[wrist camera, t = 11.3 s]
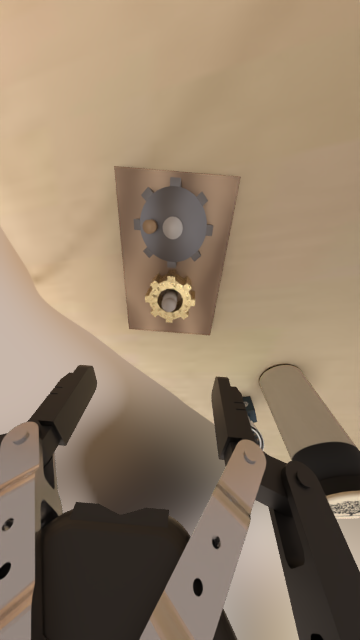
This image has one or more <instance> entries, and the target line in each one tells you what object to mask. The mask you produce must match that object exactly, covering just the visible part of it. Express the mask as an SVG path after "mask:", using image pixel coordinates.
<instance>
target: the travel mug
mask: <svg viewBox="0 0 360 640" xmlns="http://www.w3.org/2000/svg"><path fill="white" fill-rule="evenodd" d="M259 384H260V387H261V389H262V392H263V394H264V396H265V399H266V401H267V403H268V406H269V408H270V411H271V413H272V415H273V418H274V420H275V422H276V425H277V427H278V429H279V432H280V434H281V436H282V439H283V441H284V443H285V446H286V448H287V451H288V453H289V455H290V458H291V460H292V461H299V462H301V463H303V464H305V465H306V466H307V467H309V468H310V469H311V470H312V471H313V472H314V474H315V475H316V477H317V478H318V480H319V482H320V484H321V486H322V489H323V491H324V493H325V495H326V498H327V500H328V502H329V504H330V507H331V509H332V511H333V513H334V516H335V518H342V519H346V518H347V519H349V518H360V451H359V450H358V448H357V447H356V446H355V444H354V443H353V442H352V440H351V439H350V437H349V436H348V435H347V433H346V432H345V431H344V429H343V428H342V426H341V425H340V424H339V422H338V421H337V420H336V418H335V417H334V416H333V414H332V413H331V411H330V410H329V409H328V407H327V406H326V405H325V403H324V402H323V400H322V399H321V398H320V396H319V395H318V394H317V392H316V391H315V390H314V388H313V387H312V385H311V384H310V383H309V381H308V380H307V379H306V377H305V376H304V374H303V373H302V372H301V370H300V369H299V368H297V367H295V366H291V365H280V366H276V367H273V368H271V369H269V370H267V371H266V372H265V373H264V374H263V375H262V376H261V378H260V380H259Z"/></svg>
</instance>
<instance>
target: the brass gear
mask: <svg viewBox="0 0 360 640" xmlns="http://www.w3.org/2000/svg"><path fill="white" fill-rule="evenodd" d="M150 286H151V287H152V288H151V287H149V289H148V291H147V293H146V295H145V302H147V303H150V306H151V307H152V309H151V312H150V313H151V314H152V315H153V316H154V317H156V316H157V315H159V316H161V317H162V318H164V319H166V322H170V323H172V322H173V319H177V318H179V317H181V318H182V319H183V320H184V319H185V318H187V317H188V316H189V309H190V306H195V291H191V289H192V282H191V279H190V278H189V277H188V276H186V277H185V278H183V277H181V276H180V275H178V274H176V270H169V273H168V274H166V275H164V276H161V275H160V274H159V273H158V274H157V275H156V276H155V277H154V278H153V280H152V282H151V284H150ZM166 289H174V290H176V291H177V292H179V293H180V294H181V296H182V298H181V299H180V301H177V304H176V308H175V309H174V310H173V311H172V312H166V311H165V310H163V308H162V305H161V304H162V300H163V298H162V296H161V291H164V290H166Z"/></svg>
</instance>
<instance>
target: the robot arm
mask: <svg viewBox="0 0 360 640" xmlns="http://www.w3.org/2000/svg"><path fill="white" fill-rule="evenodd" d="M96 387H97V380H96V376H95V372H94V368H93V366H87V365H79V366H78V367H77V368H76V370H75V371H74V372H73V373H68V374H67V375H66V376H64V377H63V378H62V379H61V380H60V381H59V382H58V384H57V385H56V386H55V388H54V389H53V390H52V391H51V392H50V394H49V395H48V396H47V398H46V399H45V400H44V401H43V403H42V404H41V405H40V406H39V408H38V409H37V410H36V412H35V413H34V414H33V415H32V417H31V418H30V419H29V420H28V421H27V422H25V423H22V424H20V425H18V426H16V427H14V428H13V429H12V430H11V431H9V432H8V433H7V434H3V435H0V640H237V638H236V636H235V633H234V631H233V629H232V626H231V624H230V622H229V620H228V618H227V616H226V613H225V611H224V609H223V606H224V603H225V600H226V597H227V593H228V590H229V587H230V584H231V581H232V578H233V575H234V572H235V568H236V566H237V562H238V559H239V556H240V553H241V550H242V547H243V544H244V541H245V537H246V534H247V531H248V528H249V524H250V519H251V518H250V514H251V510H252V507H253V504H254V501H255V500H257V501H259V502H261V503H263V504H264V505H266V506H268V507H269V511H270V515H271V520H272V524H273V528H274V533H275V537H276V541H277V546H278V550H279V554H280V559H281V563H282V567H283V572H284V576H285V580H286V585H287V589H288V593H289V597H290V602H291V606H292V610H293V615H294V619H295V623H296V627H297V631H298V636H299V640H360V572H359V570H358V567H357V565H356V563H355V561H354V558H353V556H352V554H351V552H350V549H349V547H348V545H347V542H346V540H345V538H344V536H343V533H342V531H341V529H340V527H339V524H338V522H337V520H336V518H335V516H334V513H333V511H332V509H331V507H330V504H329V502H328V500H327V498H326V495H325V493H324V491H323V489H322V486H321V484H320V482H319V480H318V478H317V477H316V475H315V474H314V472H313V471H312V470H311V469H310V468H309V467H307V466H306V465H305V464H303V463H301V462H299V461H290V462H289V463H288V464H287V463H284V462H282V461H280V460H278V459H275V458H273V457H271V456H269V455H268V454H266V453H265V452H264V451H263V450H262V449H261V448H260V447H259V446H258V444H257V443H256V441H255V438H254V435H253V432H252V428H251V425H250V421H249V418H248V415H247V411H246V408H245V405H244V401H243V398H242V394H241V393H240V392H239V390H238V389H237V387H231V386H230V383H229V379H228V378H227V377H216V378H215V382H214V386H213V390H212V408H213V416H214V424H215V432H216V440H217V448H218V456H219V459H222V460H225V467H226V468H225V470H224V472H223V474H222V476H221V478H220V480H219V482H218V484H217V485H216V487H215V489H214V491H213V493H212V495H211V497H210V499H209V501H208V504H207V505H206V508H205V509H204V511H203V513H202V515H201V518H200V519H199V522H198V523H197V525H196V528H195V530H194V531H193V533H192V535H191V537H190V535H189V534H188V532H187V531H186V530H185V528H184V527H183V526H182V525H181V524H180V523H179V522H178V521H176V520H175V519H174V518H172V517H170V516H169V510H165V509H153V508H144V509H141V510H137V511H134V512H130V513H127V514H123V515H119V514H117V513H115V512H113V511H111V510H109V509H107V508H106V507H104V506H102V505H100V504H93V503H81V502H76V504H75V506H74V509H72V510H70V511H67V512H65V513H63V510H62V504H61V500H60V496H59V493H58V485H57V474H56V462H55V453H54V452H55V450H56V448H57V446H58V445H64V446H66V445H67V443H68V441H69V439H70V437H71V435H72V433H73V431H74V429H75V428H76V426H77V424H78V422H79V420H80V418H81V416H82V415H83V413H84V411H85V409H86V407H87V405H88V403H89V402H90V400H91V398H92V396H93V394H94V392H95V390H96Z"/></svg>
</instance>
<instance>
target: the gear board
mask: <svg viewBox="0 0 360 640" xmlns="http://www.w3.org/2000/svg"><path fill="white" fill-rule="evenodd" d="M114 169H115V180H116V191H117V202H118V213H119V224H120V235H121V246H122V257H123V268H124V279H125V290H126V301H127V312H128V323H129V329H138V330H150V331H163V332H175V333H188V334H200V335H210V333H211V328H212V322H213V317H214V312H215V307H216V302H217V296H218V291H219V286H220V281H221V276H222V271H223V265H224V260H225V255H226V250H227V245H228V240H229V234H230V229H231V224H232V219H233V214H234V209H235V203H236V198H237V193H238V188H239V183H240V178H241V177H238V176H226V175H214V174H202V173H190V172H178V171H166V170H154V169H142V168H130V167H118V166H114ZM169 270H176V274H178V275H180V276H181V277H183V278H185V277H186V276H188V277H189V278H190V279H191V282H192V289H191V291H195V306H190V309H189V316H188V317H187V318H185V319H184V320H183V319H182V318H181V317H179V318H177V319H173V322H172V323H170V322H166V319H164V318H162V317H161V316H159V315H157V316H156V317H154V316H153V315H152V314H151V313H150V312H151V309H152V307H151V306H150V303H147V302H145V295H146V293H147V291H148V289H149V287H151V286H150V284H151V282H152V280H153V278H154V277H155V276H156V275H157V274H158V273H159V274H160V275H161V276H164V275H166V274H168V273H169ZM151 288H152V287H151ZM161 296H162V298H163V300H162V304H161V305H162V308H163V310H165V311H166V312H172V311H173V310H174V309H175V308H176V304H177V301H180V299H181V298H182V296H181V294H180V293H179V292H177V291H176V290H174V289H166V290H164V291H161Z"/></svg>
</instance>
